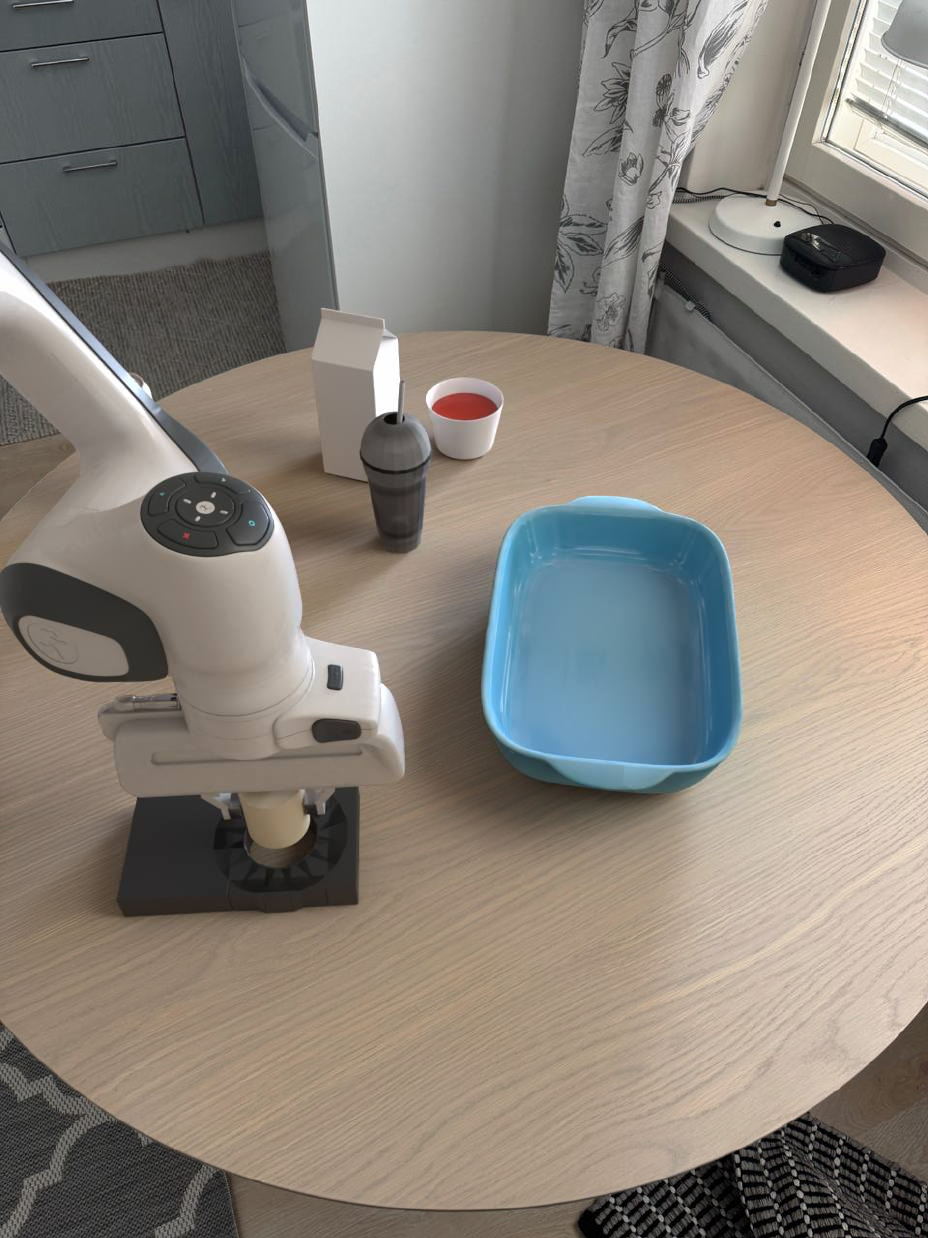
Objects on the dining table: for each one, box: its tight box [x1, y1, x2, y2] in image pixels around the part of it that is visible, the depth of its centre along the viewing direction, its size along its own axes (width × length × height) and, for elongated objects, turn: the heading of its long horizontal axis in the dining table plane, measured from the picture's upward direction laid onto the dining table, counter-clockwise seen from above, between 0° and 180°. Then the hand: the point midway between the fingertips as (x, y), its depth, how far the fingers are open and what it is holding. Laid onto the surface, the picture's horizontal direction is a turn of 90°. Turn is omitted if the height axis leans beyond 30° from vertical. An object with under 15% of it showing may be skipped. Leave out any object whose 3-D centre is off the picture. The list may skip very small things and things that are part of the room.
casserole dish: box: [480, 495, 744, 794], centre depth 92 cm, size 37×22×7 cm, turn 173°
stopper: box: [238, 789, 310, 850], centre depth 75 cm, size 5×5×7 cm
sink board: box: [116, 786, 361, 918], centre depth 80 cm, size 18×11×2 cm, turn 94°
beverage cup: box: [359, 379, 433, 554], centre depth 100 cm, size 7×7×20 cm
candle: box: [425, 377, 504, 460], centre depth 118 cm, size 9×9×6 cm
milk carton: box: [310, 307, 401, 483], centre depth 110 cm, size 7×7×19 cm
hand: (276, 809), depth 76 cm, fingers closed on stopper, 5 cm apart
